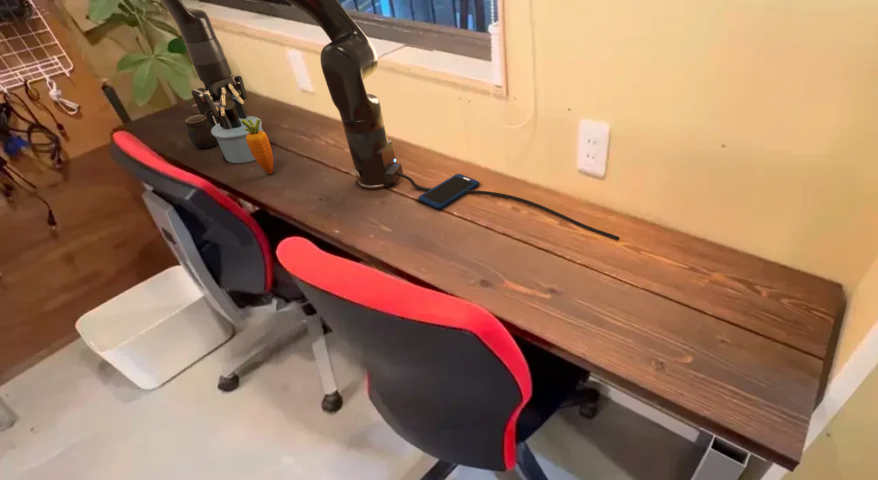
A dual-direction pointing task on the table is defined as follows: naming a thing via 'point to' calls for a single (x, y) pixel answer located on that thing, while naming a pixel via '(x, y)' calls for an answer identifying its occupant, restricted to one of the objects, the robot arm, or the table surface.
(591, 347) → the table surface
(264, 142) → the carrot
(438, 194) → the cell phone
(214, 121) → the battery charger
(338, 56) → the robot arm
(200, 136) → the mate gourd
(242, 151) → the pot
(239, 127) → the lid
